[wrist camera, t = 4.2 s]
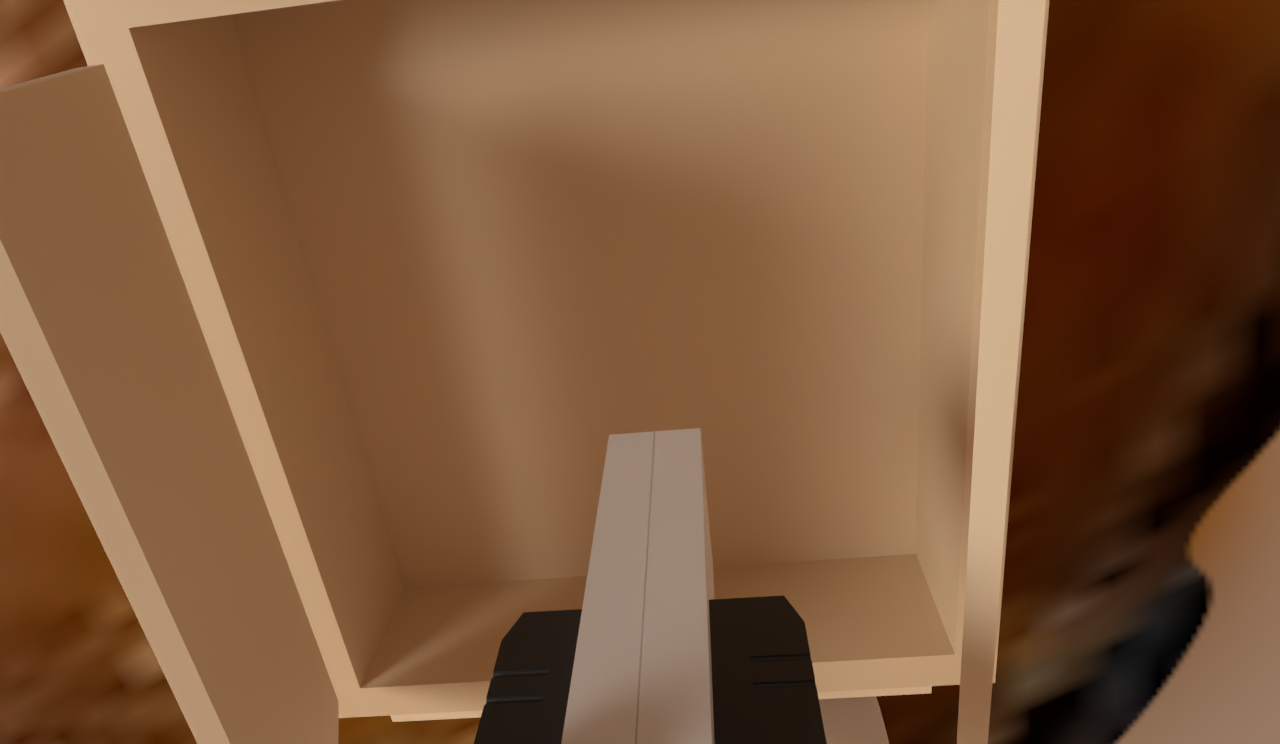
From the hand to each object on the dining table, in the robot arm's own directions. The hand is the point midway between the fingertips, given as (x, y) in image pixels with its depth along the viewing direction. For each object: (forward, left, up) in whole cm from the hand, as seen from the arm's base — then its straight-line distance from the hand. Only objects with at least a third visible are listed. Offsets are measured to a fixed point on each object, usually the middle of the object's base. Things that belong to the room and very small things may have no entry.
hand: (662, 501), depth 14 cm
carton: (0, -1, -9) cm, 9 cm away
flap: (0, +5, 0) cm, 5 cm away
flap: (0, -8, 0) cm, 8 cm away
